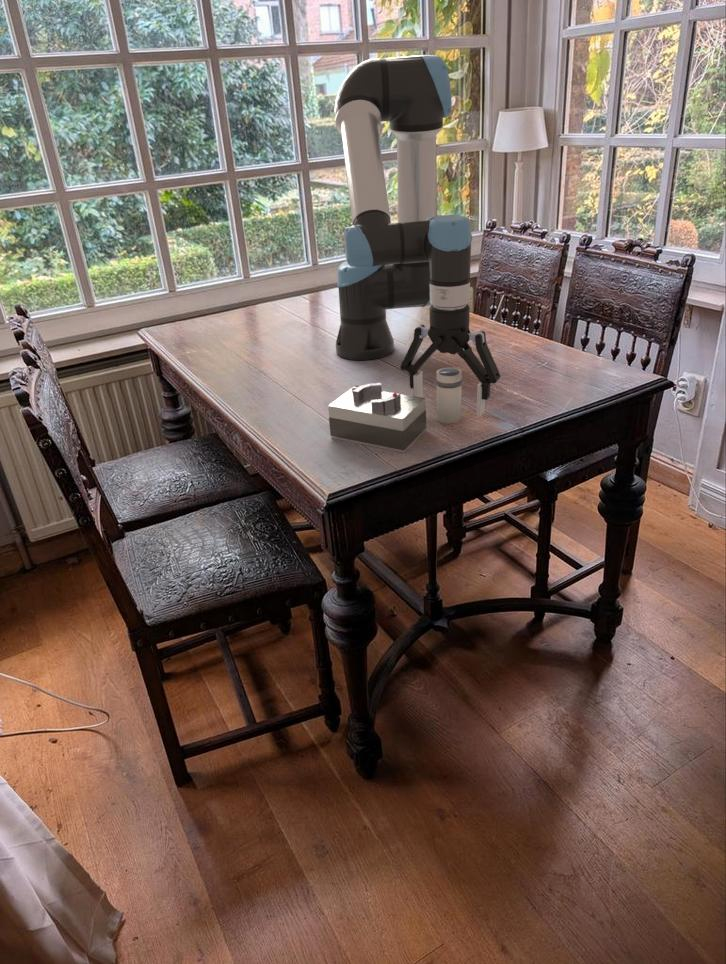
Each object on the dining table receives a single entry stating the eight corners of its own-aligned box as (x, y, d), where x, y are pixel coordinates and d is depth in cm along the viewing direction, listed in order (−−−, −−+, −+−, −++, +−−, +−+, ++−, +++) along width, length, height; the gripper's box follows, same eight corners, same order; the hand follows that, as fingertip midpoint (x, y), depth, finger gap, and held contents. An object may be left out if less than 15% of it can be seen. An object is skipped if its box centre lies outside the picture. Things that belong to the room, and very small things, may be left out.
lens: (432, 421, 139) (431, 374, 134) (442, 411, 143) (442, 365, 137) (455, 425, 136) (456, 378, 131) (465, 415, 140) (466, 368, 135)
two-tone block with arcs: (330, 437, 135) (326, 393, 130) (355, 417, 142) (352, 374, 137) (403, 452, 128) (402, 406, 123) (426, 430, 135) (425, 386, 130)
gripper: (381, 304, 130) (385, 405, 141) (507, 316, 119) (501, 425, 130) (398, 293, 136) (401, 392, 147) (520, 304, 125) (514, 410, 136)
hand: (448, 408), depth 138 cm, fingers open, 13 cm apart
